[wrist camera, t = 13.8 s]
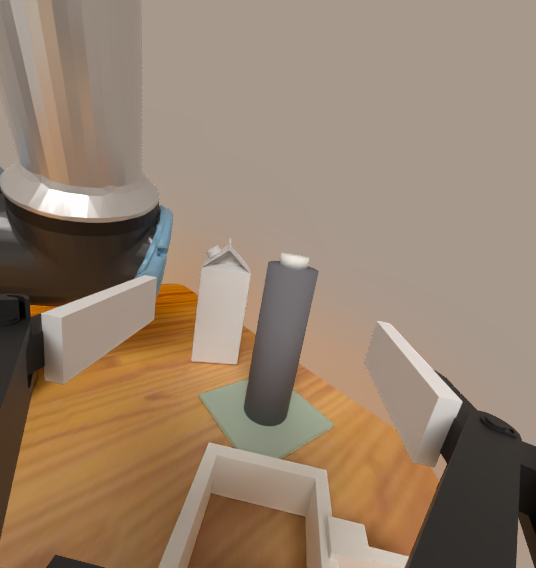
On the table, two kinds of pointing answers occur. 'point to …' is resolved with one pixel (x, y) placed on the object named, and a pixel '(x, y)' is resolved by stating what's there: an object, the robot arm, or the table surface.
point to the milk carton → (220, 306)
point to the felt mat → (264, 439)
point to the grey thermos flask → (279, 338)
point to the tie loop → (277, 495)
